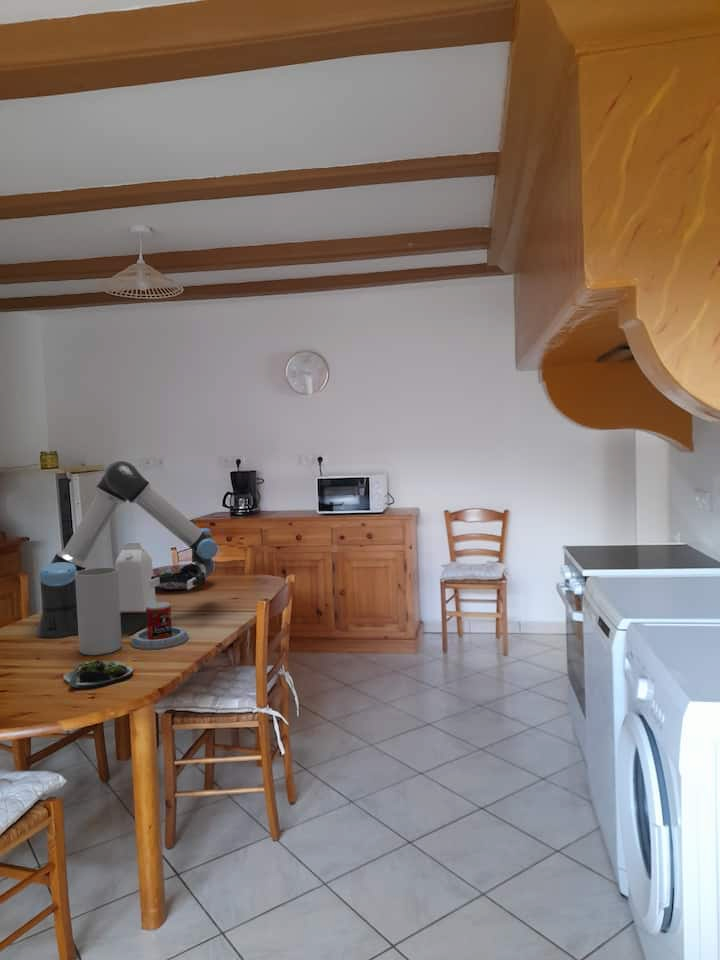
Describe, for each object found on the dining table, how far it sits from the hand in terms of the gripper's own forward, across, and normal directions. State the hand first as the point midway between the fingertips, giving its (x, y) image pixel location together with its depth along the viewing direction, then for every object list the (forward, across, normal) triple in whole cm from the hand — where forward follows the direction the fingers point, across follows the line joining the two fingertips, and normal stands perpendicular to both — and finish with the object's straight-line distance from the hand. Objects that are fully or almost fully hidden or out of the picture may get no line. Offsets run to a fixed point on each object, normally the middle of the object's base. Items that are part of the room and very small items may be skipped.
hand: (169, 585), depth 231 cm
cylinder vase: (+24, +13, -16) cm, 31 cm away
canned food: (+14, -3, -15) cm, 21 cm away
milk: (-29, +27, -16) cm, 42 cm away
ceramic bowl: (-63, +23, -15) cm, 69 cm away
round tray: (+14, -3, -15) cm, 21 cm away
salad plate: (+48, 0, -16) cm, 51 cm away
